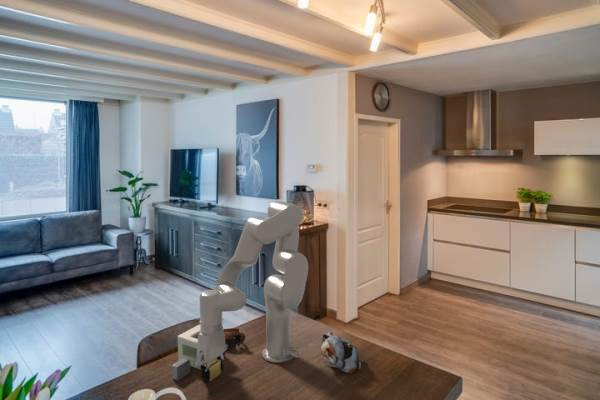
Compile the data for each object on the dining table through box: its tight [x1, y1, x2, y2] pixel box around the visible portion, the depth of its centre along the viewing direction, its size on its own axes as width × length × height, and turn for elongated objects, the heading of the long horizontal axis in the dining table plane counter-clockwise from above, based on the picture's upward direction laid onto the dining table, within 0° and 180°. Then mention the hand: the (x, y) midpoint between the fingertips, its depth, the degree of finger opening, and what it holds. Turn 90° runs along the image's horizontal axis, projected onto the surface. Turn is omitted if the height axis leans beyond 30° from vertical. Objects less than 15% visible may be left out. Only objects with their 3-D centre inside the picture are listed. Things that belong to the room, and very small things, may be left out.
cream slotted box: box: [177, 323, 217, 371], centre depth 146 cm, size 12×12×10 cm
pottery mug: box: [223, 327, 246, 351], centre depth 156 cm, size 12×10×8 cm
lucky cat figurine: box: [321, 331, 362, 375], centre depth 140 cm, size 15×12×14 cm
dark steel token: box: [171, 358, 191, 381], centre depth 135 cm, size 2×6×5 cm, turn 150°
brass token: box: [205, 358, 222, 382], centre depth 134 cm, size 2×6×5 cm, turn 150°
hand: (212, 374), depth 134 cm, fingers closed on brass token, 5 cm apart
